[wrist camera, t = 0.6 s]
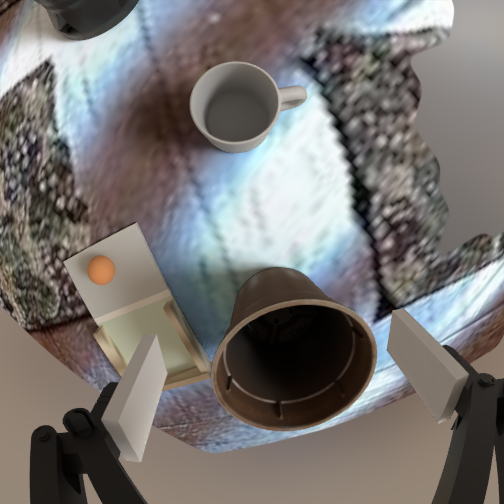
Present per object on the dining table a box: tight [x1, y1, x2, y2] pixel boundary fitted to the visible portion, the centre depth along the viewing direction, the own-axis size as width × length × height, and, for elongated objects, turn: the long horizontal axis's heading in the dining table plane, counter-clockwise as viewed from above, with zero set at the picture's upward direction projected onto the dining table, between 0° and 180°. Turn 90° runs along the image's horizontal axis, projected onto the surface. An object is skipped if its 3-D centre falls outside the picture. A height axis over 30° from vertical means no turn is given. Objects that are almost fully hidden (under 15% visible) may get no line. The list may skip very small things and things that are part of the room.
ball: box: [87, 256, 115, 285], centre depth 37 cm, size 4×4×4 cm
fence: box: [93, 299, 212, 391], centre depth 41 cm, size 12×14×4 cm
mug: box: [190, 62, 307, 153], centre depth 30 cm, size 12×8×11 cm
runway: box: [64, 223, 200, 374], centre depth 41 cm, size 24×14×1 cm, turn 22°
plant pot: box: [211, 268, 377, 431], centre depth 34 cm, size 16×16×16 cm
